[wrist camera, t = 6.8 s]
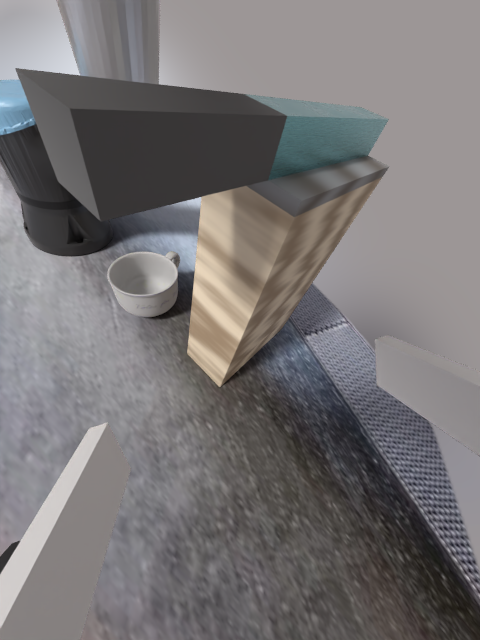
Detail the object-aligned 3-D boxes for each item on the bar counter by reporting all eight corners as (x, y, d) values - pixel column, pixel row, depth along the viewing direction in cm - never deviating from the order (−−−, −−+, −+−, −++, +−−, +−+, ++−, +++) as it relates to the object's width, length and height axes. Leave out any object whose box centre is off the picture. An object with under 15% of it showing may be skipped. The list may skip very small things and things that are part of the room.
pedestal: (219, 387, 36) (301, 201, 13) (187, 353, 38) (206, 142, 15) (281, 329, 46) (389, 166, 23) (253, 305, 49) (325, 134, 25)
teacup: (142, 336, 38) (136, 306, 32) (103, 298, 41) (91, 264, 35) (200, 297, 47) (204, 267, 40) (165, 268, 49) (164, 236, 43)
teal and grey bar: (100, 221, 8) (69, 108, 6) (58, 181, 9) (14, 68, 6) (367, 155, 24) (388, 119, 21) (343, 143, 25) (361, 107, 22)
